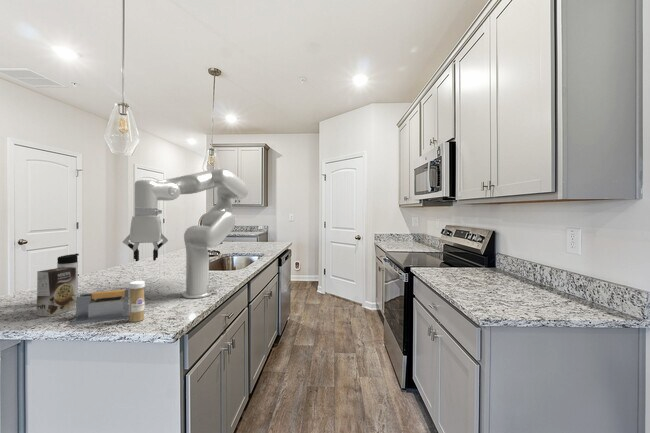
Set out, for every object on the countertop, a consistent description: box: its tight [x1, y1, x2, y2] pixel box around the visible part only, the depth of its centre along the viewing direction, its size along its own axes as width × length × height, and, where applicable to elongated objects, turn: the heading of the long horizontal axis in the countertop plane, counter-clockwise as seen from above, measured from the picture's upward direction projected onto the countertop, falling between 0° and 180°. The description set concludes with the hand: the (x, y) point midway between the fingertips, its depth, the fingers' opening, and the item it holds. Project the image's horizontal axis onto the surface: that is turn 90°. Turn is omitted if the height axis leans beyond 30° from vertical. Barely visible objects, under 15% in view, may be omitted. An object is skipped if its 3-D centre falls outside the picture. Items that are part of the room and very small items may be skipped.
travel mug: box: [56, 253, 80, 298], centre depth 118 cm, size 6×7×20 cm
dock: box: [70, 292, 130, 326], centre depth 107 cm, size 18×14×8 cm
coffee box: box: [36, 267, 76, 318], centre depth 108 cm, size 9×6×16 cm
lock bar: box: [91, 287, 130, 299], centre depth 107 cm, size 11×3×3 cm, turn 115°
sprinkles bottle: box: [128, 280, 146, 323], centre depth 102 cm, size 5×5×14 cm
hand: (146, 259), depth 111 cm, fingers open, 5 cm apart
